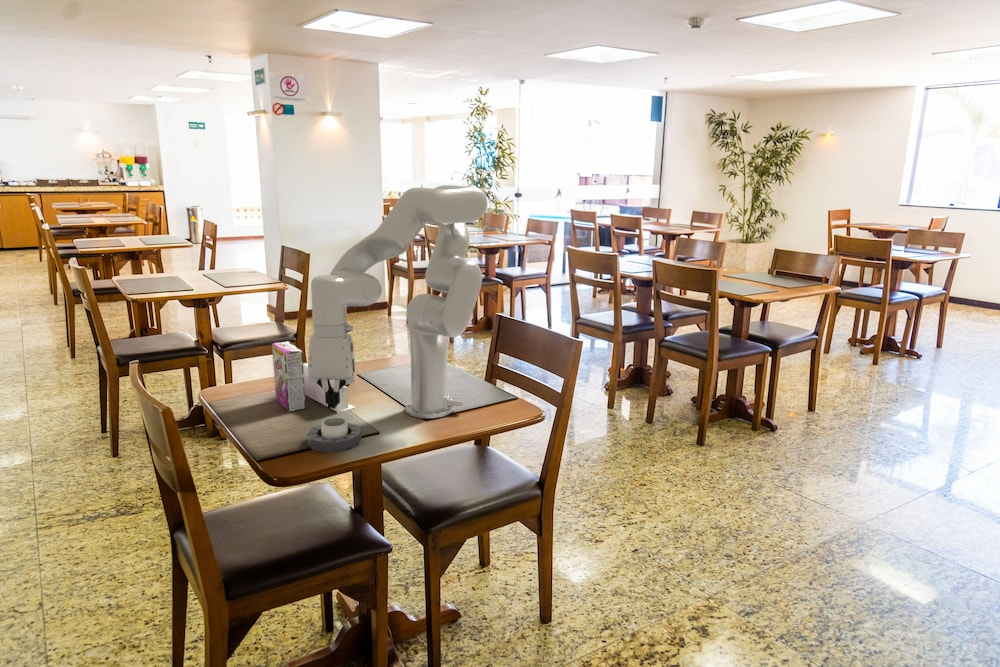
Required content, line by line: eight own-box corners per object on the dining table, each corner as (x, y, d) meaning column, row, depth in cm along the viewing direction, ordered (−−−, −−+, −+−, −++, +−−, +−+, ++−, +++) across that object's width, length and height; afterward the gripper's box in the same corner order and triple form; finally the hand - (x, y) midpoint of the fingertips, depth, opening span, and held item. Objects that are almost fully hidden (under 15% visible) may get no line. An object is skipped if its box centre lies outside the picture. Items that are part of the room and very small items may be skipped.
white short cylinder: (350, 437, 161) (349, 417, 160) (344, 447, 155) (344, 426, 154) (325, 436, 161) (324, 416, 160) (318, 447, 155) (318, 426, 154)
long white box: (356, 409, 180) (355, 375, 177) (337, 413, 176) (336, 379, 174) (318, 390, 194) (317, 359, 191) (301, 394, 190) (299, 362, 188)
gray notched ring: (365, 432, 164) (365, 422, 163) (354, 453, 152) (354, 442, 152) (316, 431, 164) (315, 421, 163) (301, 451, 152) (301, 441, 151)
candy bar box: (274, 400, 184) (270, 343, 180) (292, 397, 187) (289, 340, 183) (287, 412, 175) (284, 352, 171) (306, 409, 178) (303, 350, 174)
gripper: (366, 327, 155) (368, 401, 159) (302, 325, 155) (305, 400, 159) (359, 335, 148) (361, 413, 152) (292, 333, 148) (296, 411, 152)
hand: (332, 406), depth 156 cm, fingers closed
